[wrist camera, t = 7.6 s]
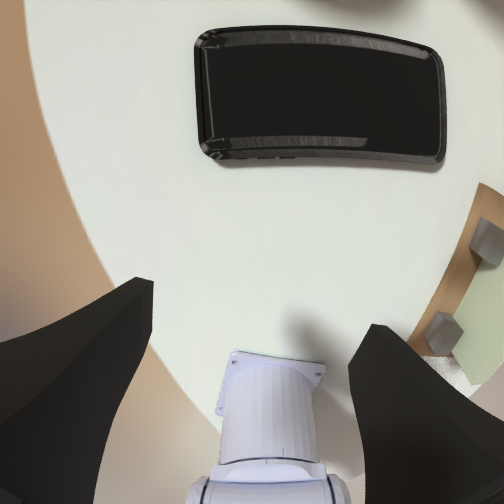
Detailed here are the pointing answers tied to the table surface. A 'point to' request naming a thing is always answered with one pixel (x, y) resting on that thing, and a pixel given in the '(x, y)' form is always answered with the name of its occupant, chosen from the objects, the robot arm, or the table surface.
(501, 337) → the door panel
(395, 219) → the table surface
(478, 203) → the rail
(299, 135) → the phone
